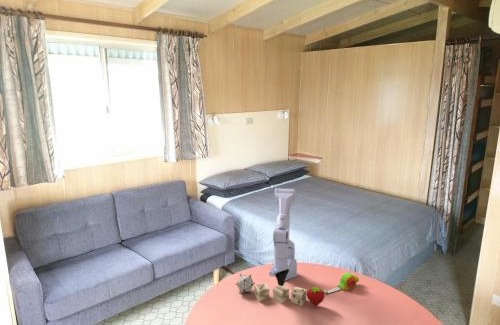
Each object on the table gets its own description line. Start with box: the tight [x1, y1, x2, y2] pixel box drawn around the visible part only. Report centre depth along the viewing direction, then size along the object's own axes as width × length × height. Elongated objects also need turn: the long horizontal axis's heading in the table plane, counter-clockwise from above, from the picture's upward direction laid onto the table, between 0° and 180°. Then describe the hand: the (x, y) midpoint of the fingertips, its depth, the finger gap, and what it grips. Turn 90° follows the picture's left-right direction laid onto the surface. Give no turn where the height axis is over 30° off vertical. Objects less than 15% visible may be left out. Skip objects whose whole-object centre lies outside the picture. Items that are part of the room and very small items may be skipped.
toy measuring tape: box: [322, 272, 360, 295], centre depth 158 cm, size 6×20×7 cm, turn 114°
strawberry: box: [306, 285, 326, 307], centre depth 144 cm, size 6×8×10 cm
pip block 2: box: [290, 286, 307, 307], centre depth 149 cm, size 5×5×5 cm
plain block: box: [272, 284, 290, 304], centre depth 151 cm, size 5×5×5 cm
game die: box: [235, 273, 256, 295], centre depth 156 cm, size 9×8×10 cm
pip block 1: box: [254, 282, 270, 302], centre depth 152 cm, size 5×5×5 cm
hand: (281, 285), depth 150 cm, fingers closed
